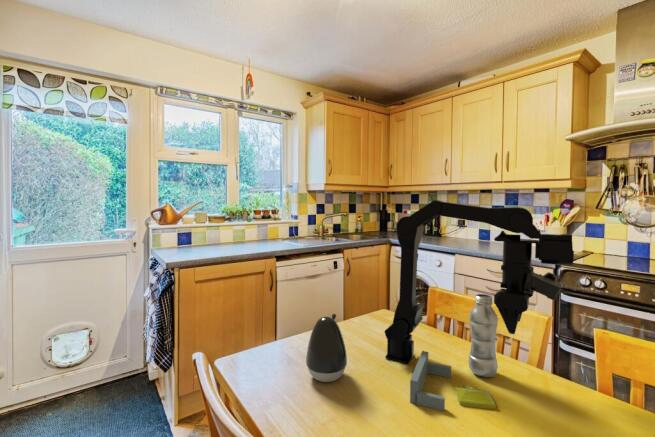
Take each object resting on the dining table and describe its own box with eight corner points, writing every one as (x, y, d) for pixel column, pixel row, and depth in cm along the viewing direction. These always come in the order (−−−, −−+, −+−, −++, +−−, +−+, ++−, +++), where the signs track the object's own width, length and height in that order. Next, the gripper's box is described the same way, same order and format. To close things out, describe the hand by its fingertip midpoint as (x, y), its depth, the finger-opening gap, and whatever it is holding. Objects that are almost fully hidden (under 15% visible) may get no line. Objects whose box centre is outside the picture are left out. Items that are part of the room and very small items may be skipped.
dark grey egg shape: (353, 370, 83) (353, 313, 82) (337, 392, 74) (337, 327, 73) (317, 362, 87) (317, 307, 86) (298, 382, 78) (298, 320, 77)
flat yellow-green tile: (453, 411, 68) (453, 398, 68) (447, 387, 77) (447, 375, 77) (505, 418, 66) (505, 405, 65) (492, 392, 74) (492, 380, 74)
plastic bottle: (501, 382, 77) (503, 300, 76) (471, 379, 79) (472, 299, 78) (493, 368, 84) (494, 293, 82) (465, 366, 85) (466, 291, 84)
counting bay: (410, 402, 70) (410, 380, 70) (422, 369, 83) (422, 350, 83) (444, 411, 67) (444, 388, 66) (450, 375, 80) (451, 356, 80)
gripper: (558, 273, 62) (555, 352, 63) (560, 259, 77) (558, 322, 78) (494, 266, 69) (492, 337, 70) (507, 254, 84) (506, 313, 84)
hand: (514, 327), depth 75 cm, fingers open, 9 cm apart
